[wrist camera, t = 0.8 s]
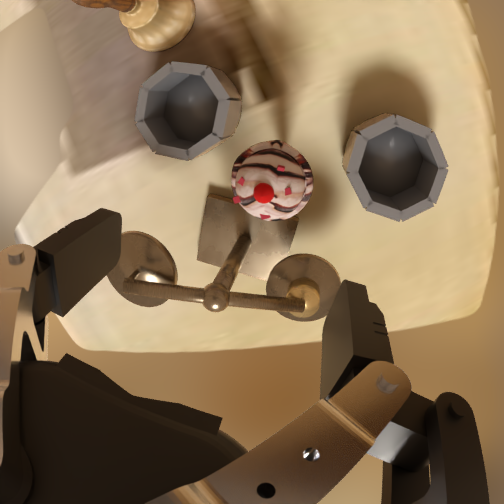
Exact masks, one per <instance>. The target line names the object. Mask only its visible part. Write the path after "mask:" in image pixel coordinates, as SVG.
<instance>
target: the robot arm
mask: <svg viewBox="0 0 504 504" xmlns="http://www.w3.org/2000/svg"><path fill="white" fill-rule="evenodd" d="M121 229H122V217H121V215H120V213H118V212H114V211H111V210H107V209H104V208H100V209H98V210H97V211H95V212H93V213H92V214H90V215H88V216H87V217H85V218H82V219H79V220H75V221H73V222H72V223H70V224H68V225H67V226H65V228H62V229H60V230H59V231H58V232H57V233H54V234H52V235H51V236H49V237H48V238H46V239H45V240H43V241H42V242H40V243H39V244H37V245H36V246H34V247H32V246H30V245H26V244H16V245H12V246H9V247H7V248H5V249H3V250H2V251H1V252H0V504H317V503H318V502H319V501H320V500H321V499H322V498H323V497H325V496H326V495H327V494H328V493H329V492H330V491H331V490H332V489H333V488H334V487H335V486H336V485H337V484H338V483H339V482H340V481H341V480H342V479H343V478H344V477H345V476H346V474H348V472H349V471H350V470H351V469H352V468H353V467H354V466H355V465H356V464H357V463H358V462H359V461H360V459H361V458H362V457H363V456H364V455H365V454H366V453H367V454H369V455H371V456H374V457H376V458H378V459H381V460H383V481H382V501H381V504H490V503H489V494H488V486H487V479H486V472H485V466H484V461H483V455H482V450H481V444H480V440H479V435H478V430H477V426H476V422H475V418H474V414H473V411H472V408H471V407H470V405H469V404H468V402H467V401H466V400H465V399H464V398H462V397H461V396H459V395H458V394H455V393H452V392H445V393H442V394H440V395H439V397H438V398H437V399H436V400H435V401H434V402H433V401H431V400H429V399H427V398H424V397H423V396H420V395H418V394H416V393H414V392H412V391H411V383H410V380H409V378H408V376H407V375H406V374H405V373H404V371H403V370H401V369H400V368H399V367H397V366H396V365H394V362H393V357H392V352H391V347H390V342H389V337H388V336H387V335H388V333H387V328H386V327H385V326H386V324H385V320H384V315H383V313H382V312H381V311H380V309H379V308H378V306H377V305H376V304H375V303H371V302H369V299H368V294H367V289H366V286H365V285H362V284H358V283H355V282H351V281H348V280H343V282H342V283H341V285H340V288H339V290H338V292H337V294H336V297H335V299H334V301H333V303H332V306H331V308H330V310H329V312H328V315H327V317H326V320H325V323H324V327H323V333H322V365H321V385H320V401H319V402H317V403H316V404H314V405H313V406H312V407H311V408H309V409H308V410H307V411H305V412H304V413H303V414H301V415H300V416H299V417H297V418H296V419H295V420H294V421H292V422H291V423H289V424H288V425H286V426H285V427H284V428H282V429H281V430H280V431H278V432H277V433H275V434H274V435H272V436H271V437H270V438H268V439H267V440H265V441H264V442H262V443H261V444H259V445H258V446H256V447H255V448H253V449H252V450H250V451H249V452H248V451H247V450H246V449H245V448H244V447H243V446H242V445H241V444H240V443H238V442H237V441H236V440H235V439H233V438H232V437H230V436H229V435H228V434H226V433H224V432H223V431H221V430H219V427H220V424H221V421H222V418H221V417H218V416H215V415H212V414H208V413H205V412H202V411H199V410H196V409H193V408H190V407H188V406H185V405H182V404H179V403H172V402H166V401H160V400H154V399H148V398H142V397H137V396H133V395H131V394H129V393H128V392H127V391H125V390H124V389H123V388H121V387H120V386H119V385H117V384H116V383H115V382H114V381H112V380H111V379H110V378H109V377H107V376H106V375H105V374H104V373H102V372H101V371H100V370H98V369H96V368H94V367H92V366H90V365H88V364H86V363H84V362H82V361H80V360H78V359H77V358H74V357H73V356H71V355H69V354H65V356H64V357H63V358H62V359H61V360H60V362H59V363H58V362H52V361H48V317H47V314H48V313H49V312H50V311H52V312H54V313H56V314H57V315H59V316H61V317H64V316H65V315H66V314H67V313H68V312H69V311H70V310H71V309H72V308H73V307H74V306H75V305H76V304H77V303H78V302H79V301H80V300H81V299H82V298H83V297H84V296H85V295H86V294H87V293H88V292H89V291H90V290H91V289H92V288H93V287H94V286H95V285H96V284H97V283H98V282H99V281H101V280H102V279H103V278H104V277H105V276H106V275H107V274H108V273H109V272H110V271H111V270H112V269H113V268H114V267H115V266H116V265H117V263H118V261H119V258H120V254H121ZM429 464H430V475H431V482H430V478H429Z"/></svg>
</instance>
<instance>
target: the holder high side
mask: <svg viewBox="0 0 504 504" xmlns="http://www.w3.org/2000/svg"><path fill="white" fill-rule="evenodd" d="M142 86H143V87H140V90H139V95H138V101H137V108H136V114H135V122H137V123H136V124H135V125H136V127H137V128H138V130H139V131H140V133H141V134H142V136H143V138H144V139H145V141H146V142H147V144H148V145H149V147H150V148H151V150H152V152H155V151H156V153H155V154H158V155H163V156H168V157H172V158H177V159H181V160H186V161H189V160H193V159H195V158H197V157H199V156H201V155H203V154H205V153H207V152H209V151H210V150H212V149H213V148H215V147H216V146H218V145H220V144H222V143H223V142H225V141H226V140H227V139H229V138H230V137H232V136H233V135H232V134H234V133H235V130H236V128H237V126H238V124H239V121H240V117H241V112H242V105H241V104H242V101H241V97H240V95H239V92H238V90H237V88H236V86H235V85H234V84H233V82H232V81H231V80H230V79H229V78H228V77H227V76H226V74H225V73H224V72H223V71H221V70H219V69H216V68H213V67H210V66H207V65H200V64H192V63H183V62H173V61H172V62H171V63H170V62H168V63H167V64H166V65H165V66H163V67H162V68H161V69H160V70H158V71H157V72H156V73H155V74H153V75H152V76H151V77H150V78H149V79H147V80H146V81H145V82H144V83H143V84H142Z"/></svg>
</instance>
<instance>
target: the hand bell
mask: <svg viewBox="0 0 504 504" xmlns="http://www.w3.org/2000/svg"><path fill="white" fill-rule="evenodd" d="M72 1H73V2H75V3H76V4H78V5H81V6H84V7H89V8H105V7H111V8H114V9H116V10H119V11H120V12H119V16H120V20H121V22H122V24H123V25H124V26H126V27H128V32H129V36H130V38H131V40H132V41H133V43H134V44H135V45H136V46H137V47H139V48H141V49H143V50H146V51H151V52H157V51H162V50H166V49H169V48H171V47H173V46H174V45H176V44H177V43H179V42H180V41H181V40H182V39H183V38H184V37H185V36H186V35H187V34H188V32H189V31H190V29H191V27H192V25H193V22H194V19H195V5H194V2H193V0H72Z"/></svg>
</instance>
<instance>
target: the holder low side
mask: <svg viewBox="0 0 504 504" xmlns="http://www.w3.org/2000/svg"><path fill="white" fill-rule="evenodd" d="M431 130H432V129H430V128H428V127H426V126H423V125H421V124H419V123H416V122H414V121H412V120H409V119H407V118H404V117H402V116H399V115H397V114H388V113H386V114H384V113H383V114H380V115H378V116H376V117H374V118H371V119H368V120H366V121H364V122H363V123H361V124H360V125H358V126H356V127H354V131H352V130H351V134H350V137H349V139H348V141H347V143H346V147H345V152H344V157H343V161H342V163H343V165H342V166H343V168H344V170H345V172H346V175H347V177H348V178H349V180H350V182H351V184H352V186H353V188H354V190H355V192H356V194H357V196H358V198H359V200H360V202H361V204H362V206H363V208H365V209H366V211H369V212H372V213H375V214H378V215H381V216H384V217H387V218H390V219H393V220H396V221H398V222H400V219H401V220H402V222H403V221H405V220H407V219H409V218H411V217H413V216H415V215H417V214H419V213H421V212H423V211H425V210H427V209H429V208H431V207H433V206H434V205H433V203H435V204H436V202H437V200H438V197H439V195H440V192H441V189H442V187H443V184H444V181H445V178H446V175H447V172H448V169H446V167H448V164H447V162H446V159H445V156H444V154H443V151H442V149H441V147H440V144H439V142H438V139H437V137H436V135H435V133H434V131H431Z"/></svg>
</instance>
